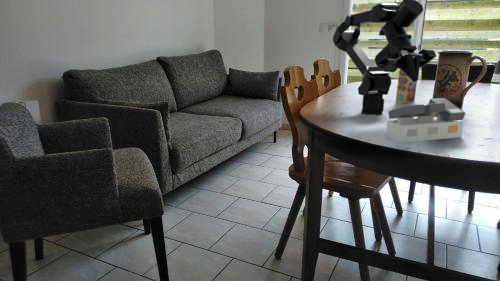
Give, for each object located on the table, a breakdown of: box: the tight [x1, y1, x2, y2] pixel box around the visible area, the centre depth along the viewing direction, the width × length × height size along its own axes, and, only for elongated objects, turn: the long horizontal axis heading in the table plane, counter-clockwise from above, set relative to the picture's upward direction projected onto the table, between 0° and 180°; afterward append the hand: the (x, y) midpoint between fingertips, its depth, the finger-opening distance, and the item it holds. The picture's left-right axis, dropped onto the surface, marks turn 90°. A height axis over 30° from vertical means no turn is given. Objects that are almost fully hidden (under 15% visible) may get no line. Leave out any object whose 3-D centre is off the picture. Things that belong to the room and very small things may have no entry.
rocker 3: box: [428, 97, 466, 121], centre depth 94 cm, size 8×4×2 cm, turn 15°
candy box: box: [395, 69, 418, 105], centre depth 144 cm, size 9×4×15 cm, turn 134°
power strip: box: [385, 113, 464, 144], centre depth 94 cm, size 6×18×6 cm, turn 105°
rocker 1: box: [388, 103, 425, 120], centre depth 91 cm, size 8×4×2 cm, turn 14°
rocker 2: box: [412, 103, 446, 118], centre depth 93 cm, size 8×4×2 cm, turn 14°
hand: (415, 81), depth 105 cm, fingers closed
